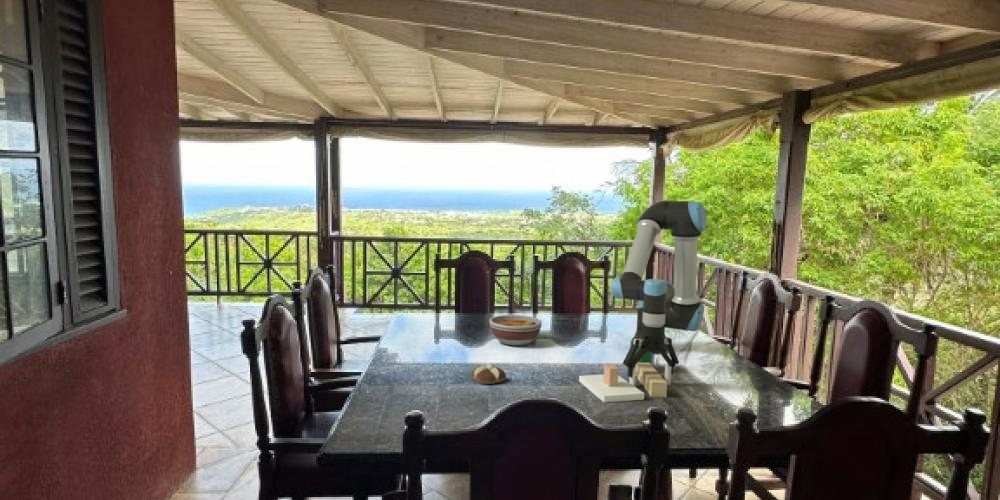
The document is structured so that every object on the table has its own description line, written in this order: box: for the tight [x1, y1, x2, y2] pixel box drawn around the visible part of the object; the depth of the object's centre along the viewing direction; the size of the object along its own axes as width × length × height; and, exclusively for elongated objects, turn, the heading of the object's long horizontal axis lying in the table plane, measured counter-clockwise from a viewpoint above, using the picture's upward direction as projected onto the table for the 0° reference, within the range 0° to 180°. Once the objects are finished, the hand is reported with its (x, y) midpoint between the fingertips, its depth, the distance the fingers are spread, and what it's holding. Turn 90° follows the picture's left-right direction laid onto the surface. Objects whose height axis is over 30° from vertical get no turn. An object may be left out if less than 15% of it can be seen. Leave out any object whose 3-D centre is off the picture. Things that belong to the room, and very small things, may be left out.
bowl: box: [489, 314, 543, 346], centre depth 240 cm, size 23×23×10 cm
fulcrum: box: [578, 364, 645, 403], centre depth 183 cm, size 14×20×8 cm
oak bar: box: [635, 362, 668, 398], centre depth 189 cm, size 22×5×5 cm, turn 179°
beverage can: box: [629, 336, 653, 368], centre depth 206 cm, size 8×8×12 cm
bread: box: [471, 363, 507, 385], centre depth 190 cm, size 11×11×5 cm
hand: (649, 384), depth 189 cm, fingers open, 13 cm apart
